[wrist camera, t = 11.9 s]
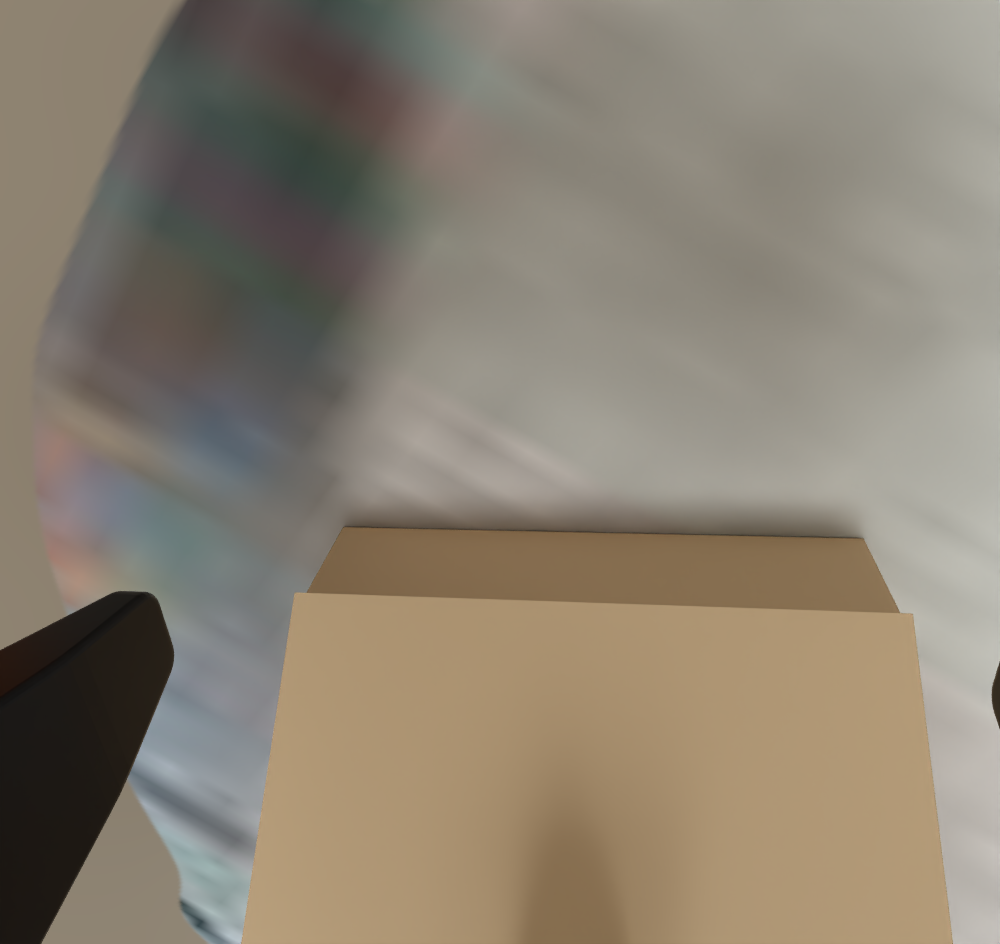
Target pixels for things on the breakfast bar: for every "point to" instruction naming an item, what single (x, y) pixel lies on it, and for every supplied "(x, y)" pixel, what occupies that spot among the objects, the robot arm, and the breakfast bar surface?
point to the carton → (607, 568)
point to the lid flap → (596, 777)
